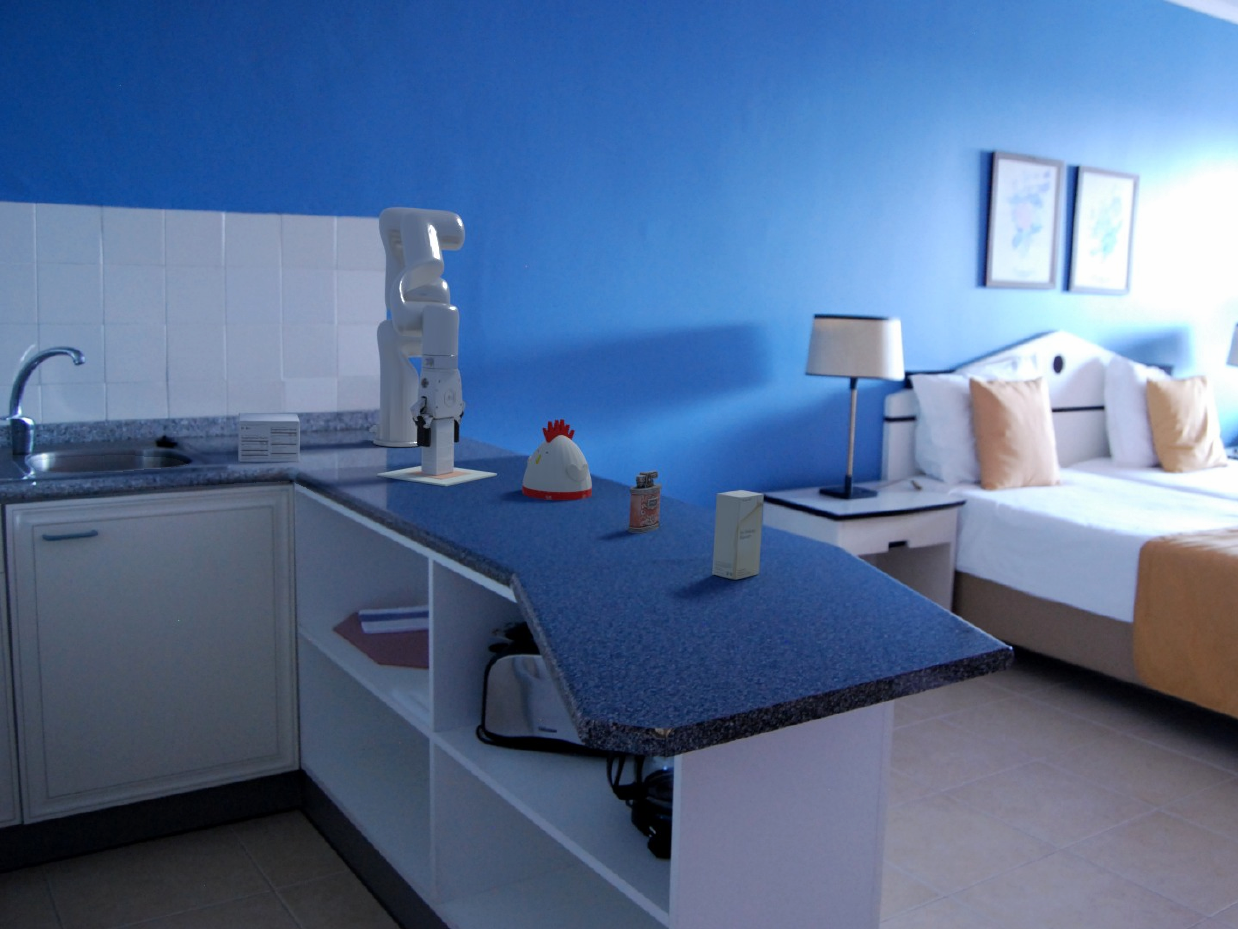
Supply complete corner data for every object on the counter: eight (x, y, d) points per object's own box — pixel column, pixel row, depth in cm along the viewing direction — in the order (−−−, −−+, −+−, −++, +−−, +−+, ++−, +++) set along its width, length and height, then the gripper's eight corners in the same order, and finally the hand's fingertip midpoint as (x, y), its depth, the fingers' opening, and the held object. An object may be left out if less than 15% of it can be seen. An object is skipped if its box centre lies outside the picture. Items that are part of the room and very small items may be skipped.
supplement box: (300, 462, 239) (300, 420, 237) (238, 463, 235) (237, 420, 233) (297, 451, 255) (297, 412, 253) (239, 451, 250) (238, 411, 249)
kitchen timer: (508, 491, 214) (510, 417, 212) (557, 485, 224) (560, 414, 222) (556, 503, 205) (558, 425, 203) (605, 495, 215) (608, 421, 213)
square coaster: (376, 475, 225) (376, 473, 225) (430, 465, 241) (430, 463, 241) (445, 486, 217) (445, 483, 217) (496, 475, 232) (496, 473, 232)
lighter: (640, 534, 181) (643, 475, 180) (623, 531, 183) (626, 473, 182) (663, 526, 188) (666, 470, 187) (647, 523, 190) (650, 468, 188)
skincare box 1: (438, 470, 232) (439, 415, 231) (454, 472, 230) (455, 417, 229) (420, 473, 227) (420, 417, 225) (435, 476, 225) (436, 419, 223)
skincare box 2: (735, 581, 154) (740, 497, 152) (710, 574, 156) (715, 493, 155) (760, 574, 158) (765, 493, 156) (735, 568, 161) (740, 488, 159)
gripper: (427, 366, 216) (426, 450, 219) (478, 363, 231) (476, 441, 234) (398, 363, 219) (397, 446, 222) (450, 360, 234) (449, 438, 237)
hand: (438, 444), depth 228 cm, fingers open, 9 cm apart
